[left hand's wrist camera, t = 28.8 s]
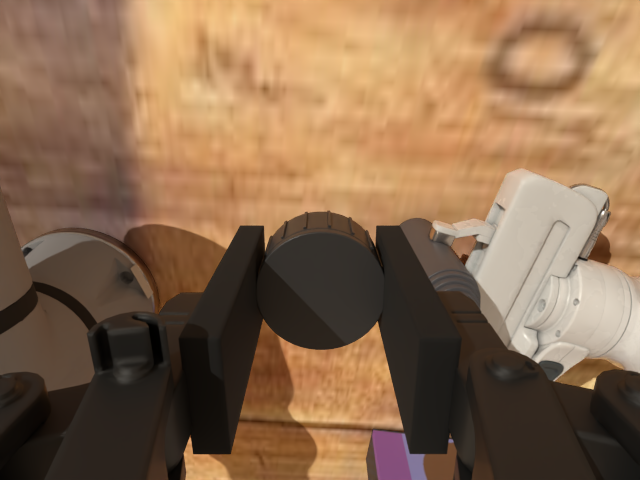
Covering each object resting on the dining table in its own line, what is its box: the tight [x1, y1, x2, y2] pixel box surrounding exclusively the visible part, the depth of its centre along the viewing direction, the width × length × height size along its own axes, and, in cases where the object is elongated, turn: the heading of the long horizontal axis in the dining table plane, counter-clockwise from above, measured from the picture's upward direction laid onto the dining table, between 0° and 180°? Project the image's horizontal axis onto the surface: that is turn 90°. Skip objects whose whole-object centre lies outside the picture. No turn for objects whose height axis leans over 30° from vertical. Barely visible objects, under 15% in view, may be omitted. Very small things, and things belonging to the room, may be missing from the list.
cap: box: [256, 211, 385, 350], centre depth 13 cm, size 4×4×2 cm
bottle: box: [399, 218, 481, 309], centre depth 36 cm, size 5×5×18 cm
